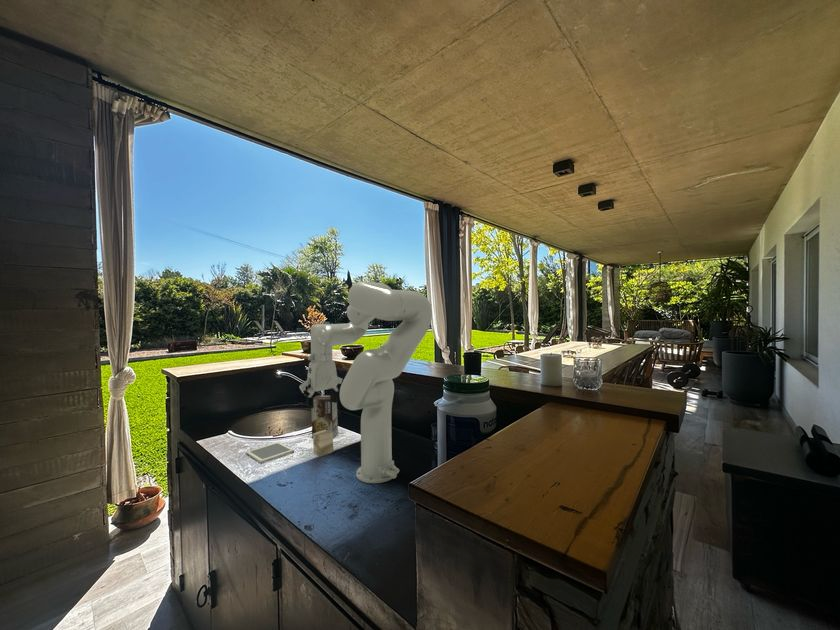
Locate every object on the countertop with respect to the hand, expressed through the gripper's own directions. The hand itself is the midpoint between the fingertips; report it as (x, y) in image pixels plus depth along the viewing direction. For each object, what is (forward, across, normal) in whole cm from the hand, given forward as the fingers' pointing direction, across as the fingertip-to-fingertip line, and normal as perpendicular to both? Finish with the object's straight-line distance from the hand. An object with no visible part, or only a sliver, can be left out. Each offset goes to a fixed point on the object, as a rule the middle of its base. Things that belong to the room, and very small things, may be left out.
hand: (322, 404), depth 125 cm
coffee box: (+18, +10, +14) cm, 24 cm away
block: (+17, 0, 0) cm, 17 cm away
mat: (+17, -13, +14) cm, 26 cm away
